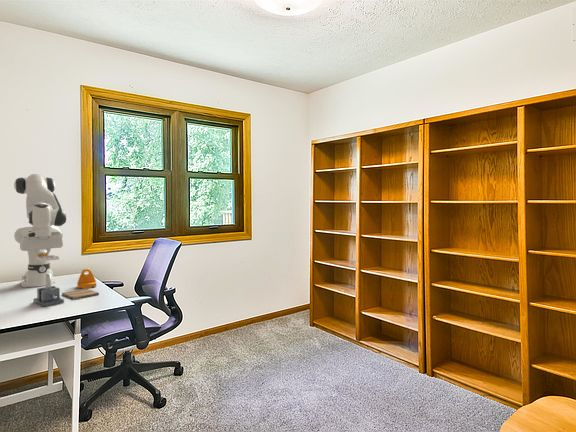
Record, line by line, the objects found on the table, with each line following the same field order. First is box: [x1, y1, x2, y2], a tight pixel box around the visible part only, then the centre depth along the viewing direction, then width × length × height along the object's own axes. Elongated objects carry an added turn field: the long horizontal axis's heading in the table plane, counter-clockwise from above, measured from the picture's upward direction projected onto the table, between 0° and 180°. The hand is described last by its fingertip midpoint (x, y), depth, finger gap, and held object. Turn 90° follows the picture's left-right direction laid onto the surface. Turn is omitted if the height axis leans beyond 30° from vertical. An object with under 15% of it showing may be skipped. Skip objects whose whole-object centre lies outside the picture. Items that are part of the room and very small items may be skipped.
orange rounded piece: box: [76, 267, 97, 290], centre depth 232 cm, size 11×7×12 cm, turn 121°
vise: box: [32, 274, 65, 308], centre depth 195 cm, size 17×10×16 cm, turn 53°
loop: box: [37, 253, 60, 262], centre depth 198 cm, size 15×8×2 cm, turn 53°
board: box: [61, 288, 100, 301], centre depth 213 cm, size 16×14×1 cm
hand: (42, 257), depth 200 cm, fingers closed on loop, 2 cm apart
